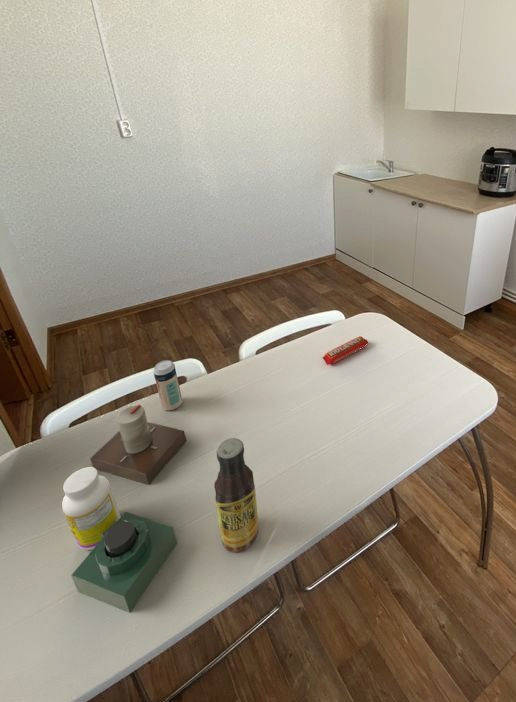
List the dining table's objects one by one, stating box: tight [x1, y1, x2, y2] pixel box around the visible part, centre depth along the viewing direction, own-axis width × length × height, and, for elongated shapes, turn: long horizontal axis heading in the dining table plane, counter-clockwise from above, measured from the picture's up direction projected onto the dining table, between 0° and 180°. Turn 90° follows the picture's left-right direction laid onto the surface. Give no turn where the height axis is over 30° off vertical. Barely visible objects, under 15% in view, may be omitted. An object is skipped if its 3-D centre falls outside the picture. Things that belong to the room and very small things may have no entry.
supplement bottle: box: [61, 466, 122, 551], centre depth 65 cm, size 7×7×13 cm
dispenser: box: [70, 511, 178, 613], centre depth 61 cm, size 10×10×6 cm
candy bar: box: [321, 335, 369, 366], centre depth 114 cm, size 16×4×3 cm, turn 131°
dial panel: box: [89, 421, 187, 486], centre depth 82 cm, size 14×11×3 cm
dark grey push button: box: [104, 521, 137, 557], centre depth 60 cm, size 4×4×2 cm
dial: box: [116, 403, 152, 454], centre depth 80 cm, size 5×5×8 cm
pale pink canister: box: [152, 359, 184, 411], centre depth 94 cm, size 5×5×12 cm
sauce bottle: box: [214, 437, 259, 553], centre depth 63 cm, size 7×6×20 cm
